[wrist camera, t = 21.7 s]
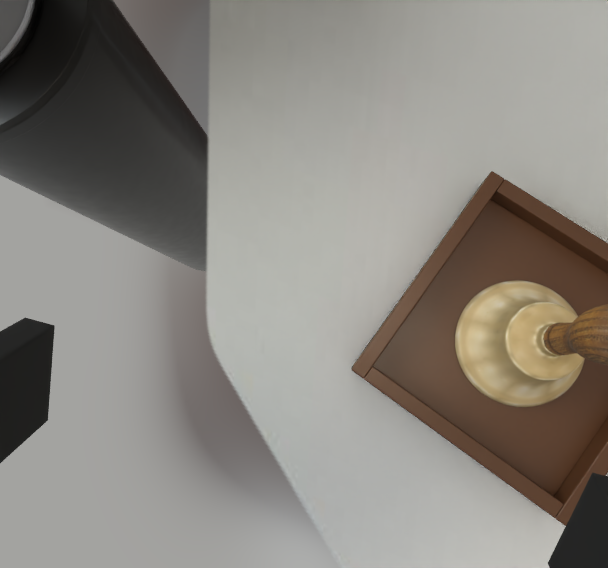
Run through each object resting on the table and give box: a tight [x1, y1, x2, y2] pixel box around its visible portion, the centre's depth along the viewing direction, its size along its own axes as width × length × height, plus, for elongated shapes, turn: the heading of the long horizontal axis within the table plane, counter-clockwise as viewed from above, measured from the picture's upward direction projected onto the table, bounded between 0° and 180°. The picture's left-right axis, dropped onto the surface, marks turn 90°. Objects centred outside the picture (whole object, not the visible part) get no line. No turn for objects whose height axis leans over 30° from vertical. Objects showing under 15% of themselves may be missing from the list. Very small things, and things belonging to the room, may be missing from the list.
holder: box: [352, 172, 608, 526], centre depth 34 cm, size 16×16×3 cm
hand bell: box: [455, 280, 608, 407], centre depth 27 cm, size 8×8×16 cm
